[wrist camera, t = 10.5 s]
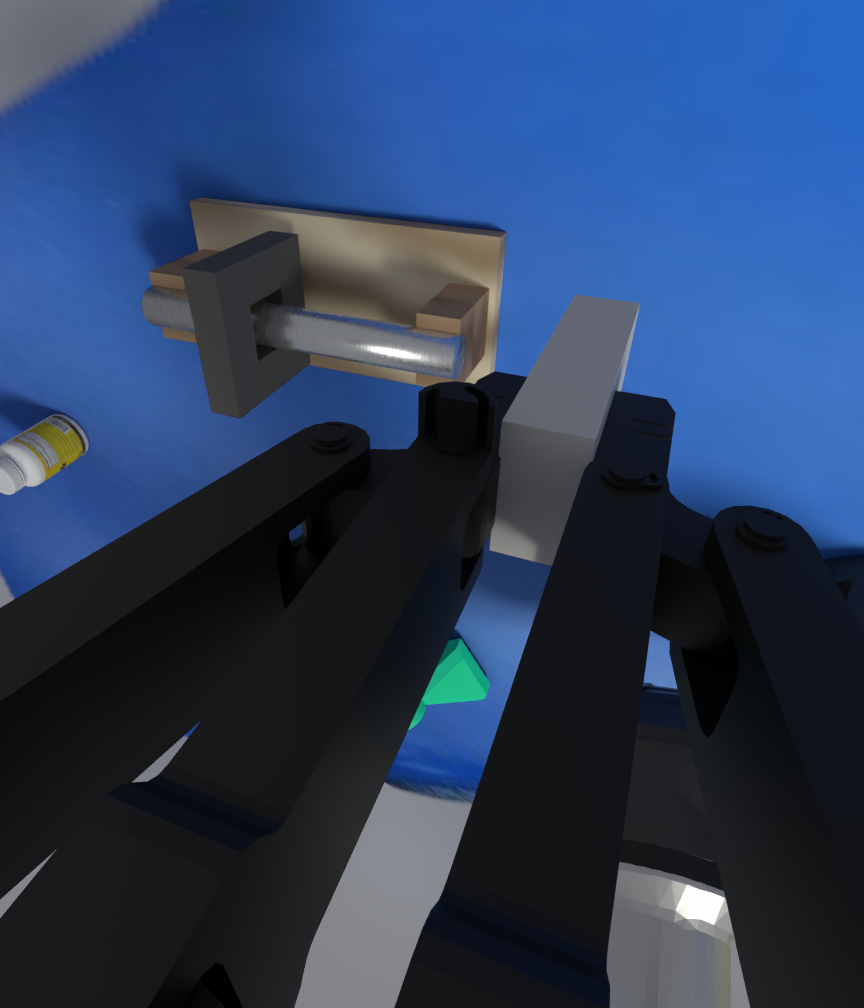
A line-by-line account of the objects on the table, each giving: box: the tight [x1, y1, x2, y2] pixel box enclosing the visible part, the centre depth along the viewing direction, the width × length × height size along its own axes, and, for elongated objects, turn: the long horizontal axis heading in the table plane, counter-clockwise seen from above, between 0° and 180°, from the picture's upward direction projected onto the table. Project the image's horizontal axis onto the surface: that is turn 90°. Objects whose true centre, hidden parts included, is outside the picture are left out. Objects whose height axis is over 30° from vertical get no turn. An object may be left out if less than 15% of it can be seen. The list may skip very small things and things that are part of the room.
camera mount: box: [408, 638, 490, 730], centre depth 70 cm, size 12×8×10 cm, turn 121°
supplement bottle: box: [0, 414, 89, 495], centre depth 70 cm, size 5×5×10 cm
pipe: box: [142, 286, 466, 380], centre depth 45 cm, size 3×24×3 cm, turn 89°
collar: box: [182, 231, 311, 418], centre depth 46 cm, size 10×2×10 cm, turn 179°
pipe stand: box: [149, 198, 506, 387], centre depth 48 cm, size 12×25×8 cm, turn 89°
